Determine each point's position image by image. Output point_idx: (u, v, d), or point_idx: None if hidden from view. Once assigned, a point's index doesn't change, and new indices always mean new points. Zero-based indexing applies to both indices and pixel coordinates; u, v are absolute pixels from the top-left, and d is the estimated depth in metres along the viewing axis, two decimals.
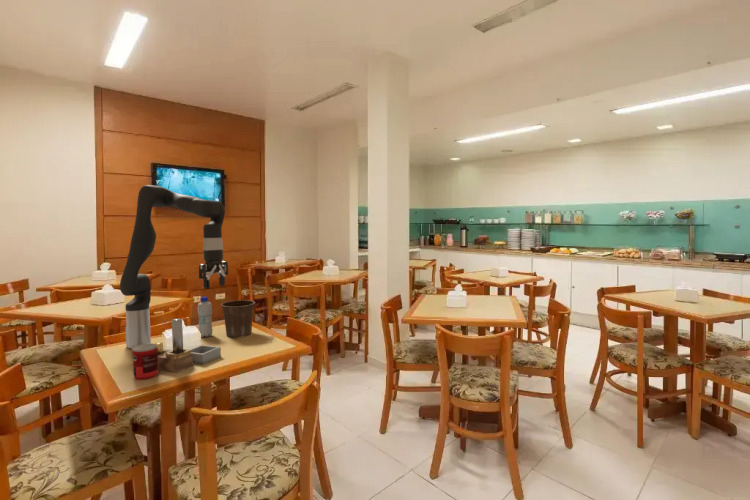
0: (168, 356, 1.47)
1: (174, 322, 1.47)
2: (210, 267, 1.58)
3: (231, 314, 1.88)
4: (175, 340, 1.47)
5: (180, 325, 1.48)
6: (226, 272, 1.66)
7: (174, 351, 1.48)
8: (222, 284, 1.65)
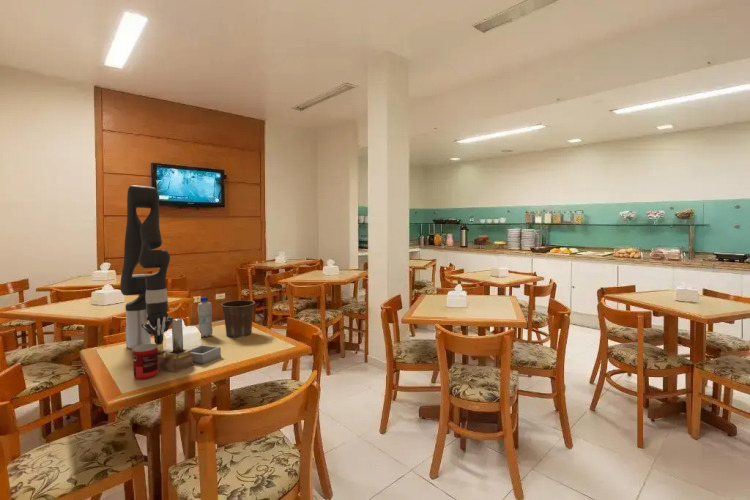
0: (168, 356, 1.47)
1: (174, 322, 1.47)
2: (154, 323, 1.49)
3: (231, 314, 1.88)
4: (175, 340, 1.47)
5: (180, 325, 1.48)
6: (165, 328, 1.54)
7: (174, 351, 1.48)
8: None
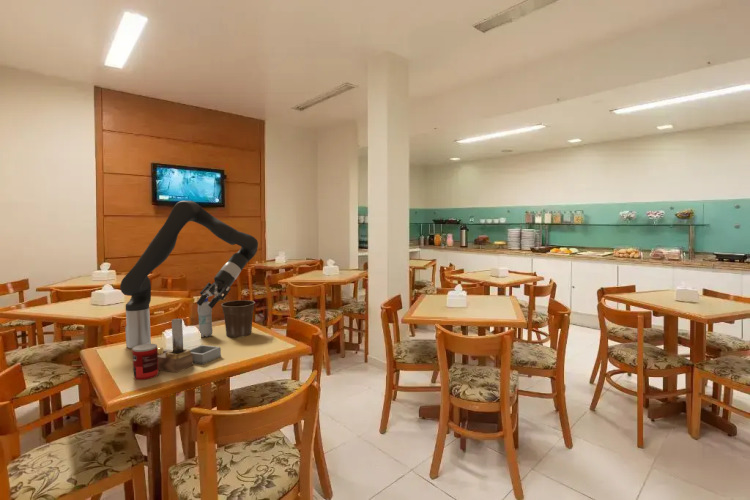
0: (168, 356, 1.47)
1: (174, 322, 1.47)
2: None
3: (231, 314, 1.88)
4: (175, 340, 1.47)
5: (180, 325, 1.48)
6: (206, 294, 1.65)
7: (174, 351, 1.48)
8: (200, 304, 1.60)
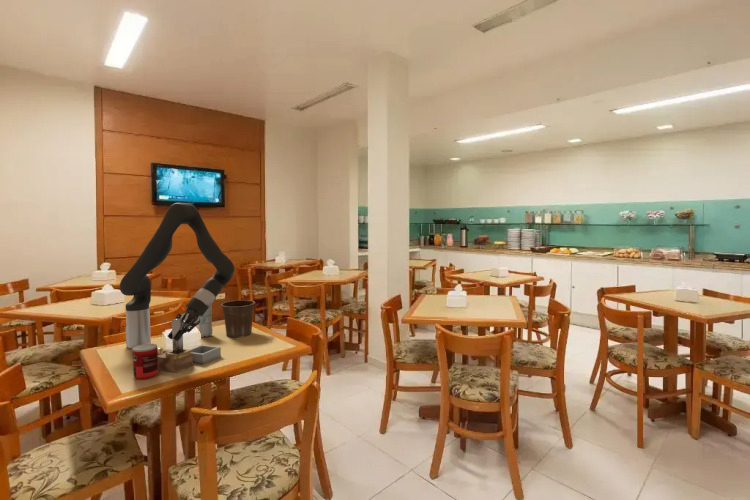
0: (168, 356, 1.47)
1: (174, 322, 1.47)
2: None
3: (231, 314, 1.88)
4: (175, 340, 1.47)
5: (180, 325, 1.48)
6: None
7: (174, 351, 1.48)
8: None
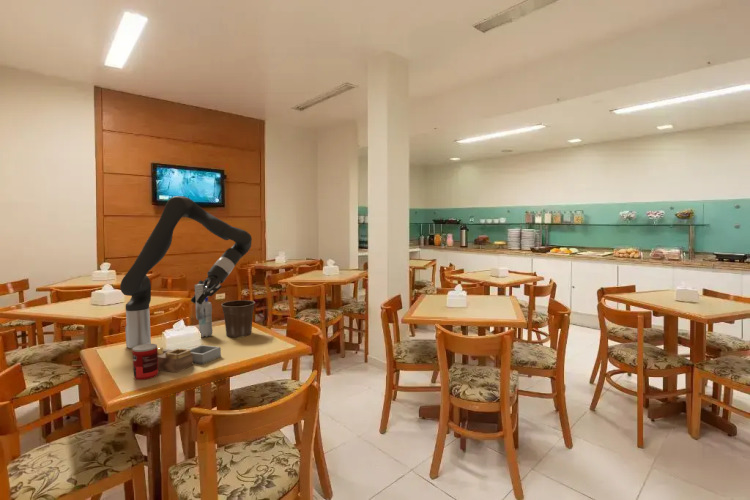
0: (168, 356, 1.47)
1: (197, 286, 1.56)
2: None
3: (231, 314, 1.88)
4: None
5: (203, 290, 1.57)
6: None
7: (197, 314, 1.57)
8: None
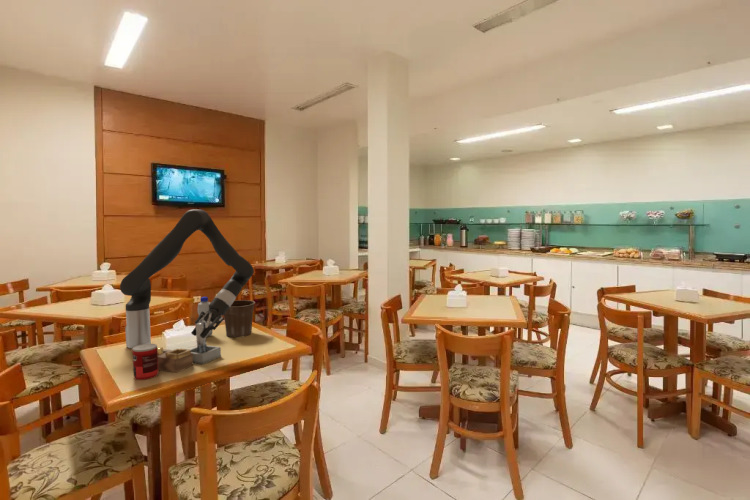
0: (168, 356, 1.47)
1: (198, 326, 1.57)
2: None
3: (231, 314, 1.88)
4: (199, 342, 1.57)
5: (203, 328, 1.58)
6: None
7: None
8: (195, 334, 1.60)
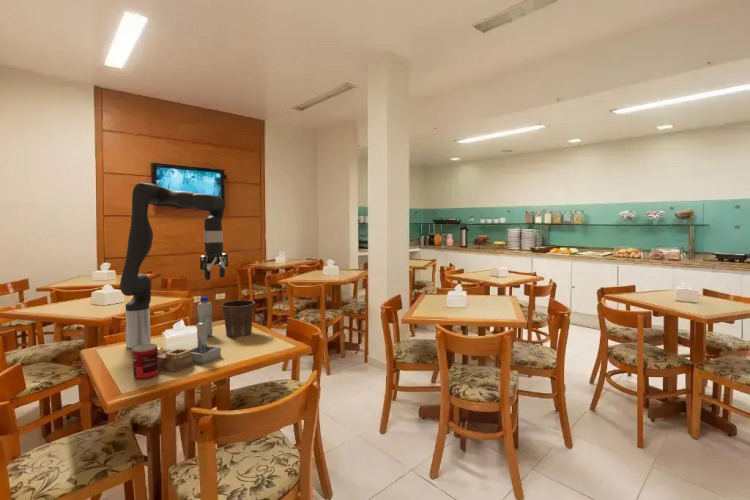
0: (168, 356, 1.47)
1: (199, 326, 1.57)
2: (211, 259, 1.65)
3: (231, 314, 1.88)
4: (200, 342, 1.57)
5: (205, 329, 1.58)
6: (226, 264, 1.73)
7: None
8: (222, 275, 1.72)
